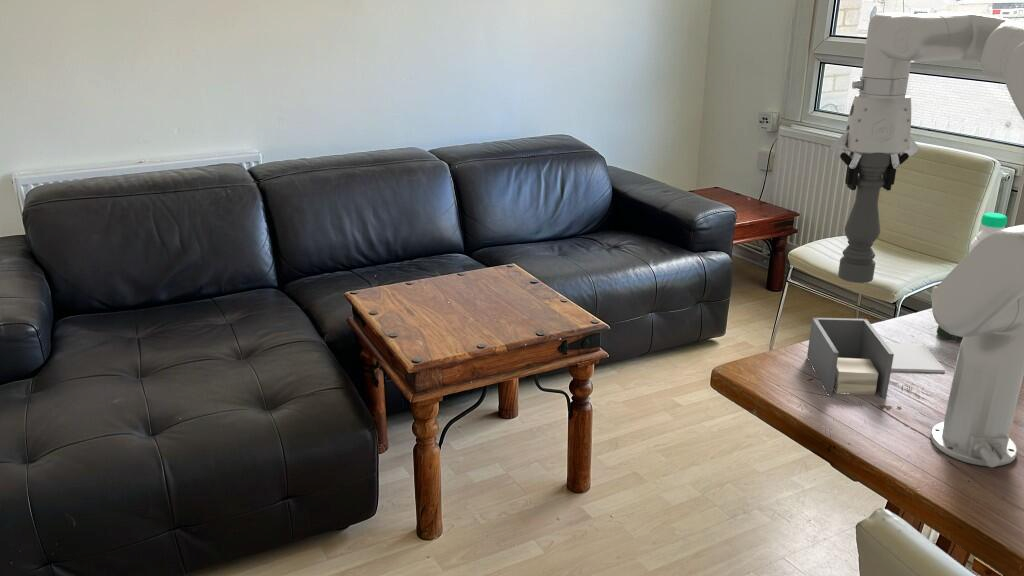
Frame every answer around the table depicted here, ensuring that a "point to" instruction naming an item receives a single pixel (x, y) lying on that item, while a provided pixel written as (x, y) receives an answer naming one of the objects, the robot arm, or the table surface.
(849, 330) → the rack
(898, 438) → the table surface
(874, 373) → the upper offcut
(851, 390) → the block
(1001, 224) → the water bottle
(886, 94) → the robot arm
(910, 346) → the mat
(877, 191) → the candle holder
